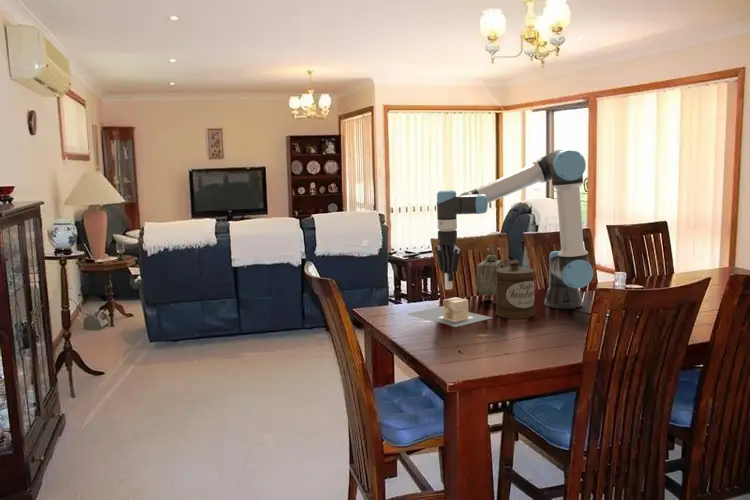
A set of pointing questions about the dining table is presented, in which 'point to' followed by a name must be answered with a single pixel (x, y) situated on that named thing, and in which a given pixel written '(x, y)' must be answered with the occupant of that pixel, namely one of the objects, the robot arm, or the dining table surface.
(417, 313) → the mat
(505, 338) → the dining table surface
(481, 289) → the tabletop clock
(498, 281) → the wooden container
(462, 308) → the birch cube
